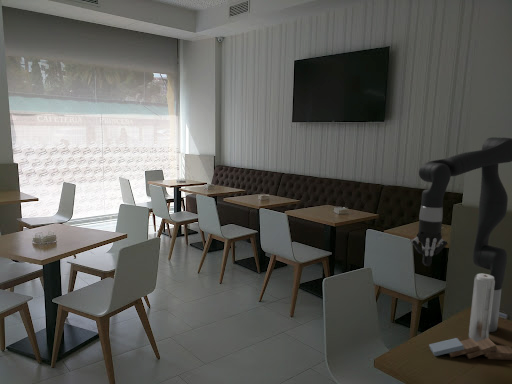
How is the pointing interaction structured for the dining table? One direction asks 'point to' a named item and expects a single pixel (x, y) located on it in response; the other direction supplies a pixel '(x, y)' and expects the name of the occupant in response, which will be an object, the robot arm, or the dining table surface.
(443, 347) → the slate domino
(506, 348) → the walnut domino
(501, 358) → the walnut domino
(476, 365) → the dining table surface
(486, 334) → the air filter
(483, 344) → the walnut domino
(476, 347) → the walnut domino
